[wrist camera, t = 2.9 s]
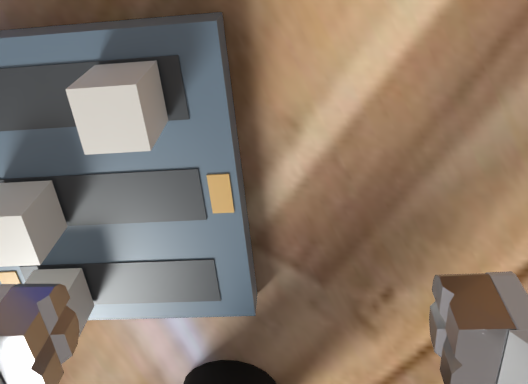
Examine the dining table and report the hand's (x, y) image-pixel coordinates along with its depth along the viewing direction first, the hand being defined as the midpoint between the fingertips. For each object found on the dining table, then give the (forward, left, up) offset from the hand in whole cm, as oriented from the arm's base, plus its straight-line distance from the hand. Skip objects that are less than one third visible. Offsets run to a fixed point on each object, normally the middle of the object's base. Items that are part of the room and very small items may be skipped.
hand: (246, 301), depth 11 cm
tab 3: (+7, 0, -15) cm, 16 cm away
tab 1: (+14, +6, -15) cm, 21 cm away
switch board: (+10, +6, -17) cm, 21 cm away
